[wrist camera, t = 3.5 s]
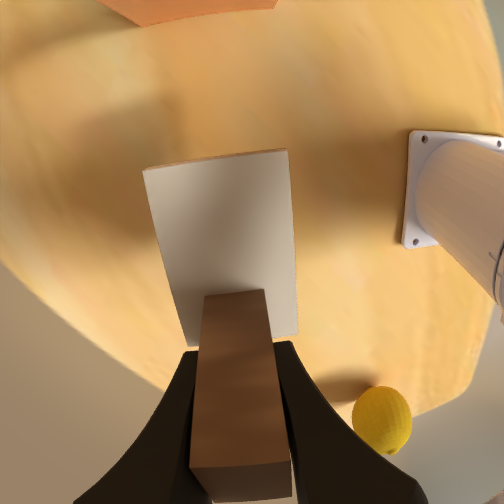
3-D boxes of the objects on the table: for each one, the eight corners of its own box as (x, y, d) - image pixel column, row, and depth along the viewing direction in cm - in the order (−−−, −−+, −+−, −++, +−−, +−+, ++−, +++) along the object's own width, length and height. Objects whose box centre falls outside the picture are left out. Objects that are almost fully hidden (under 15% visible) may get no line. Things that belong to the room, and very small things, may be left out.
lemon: (332, 396, 28) (351, 466, 21) (375, 363, 27) (404, 434, 20) (364, 408, 30) (385, 469, 23) (404, 378, 28) (432, 440, 21)
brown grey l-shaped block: (284, 148, 11) (381, 248, 4) (296, 330, 15) (333, 489, 8) (146, 167, 11) (24, 290, 4) (190, 342, 15) (174, 501, 8)
